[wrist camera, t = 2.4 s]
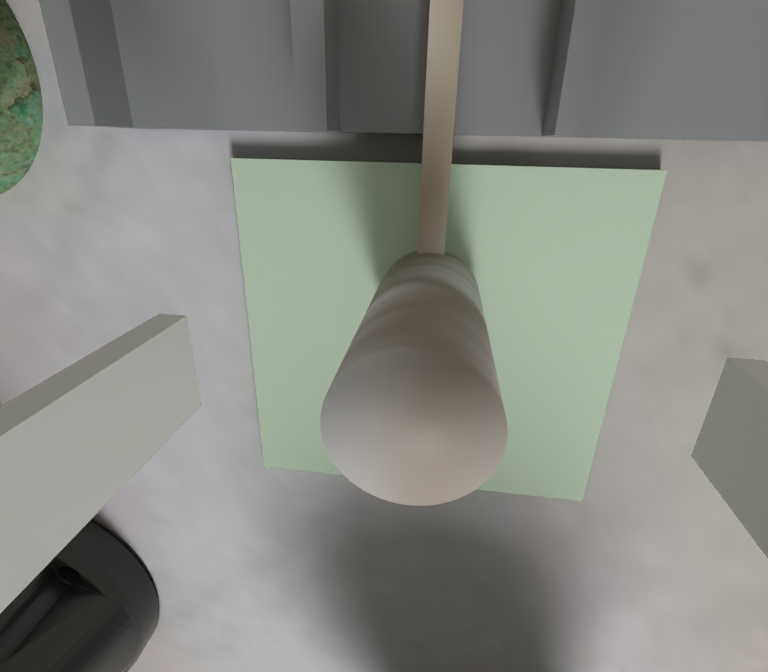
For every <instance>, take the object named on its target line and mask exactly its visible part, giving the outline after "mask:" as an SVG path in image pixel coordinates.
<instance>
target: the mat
mask: <svg viewBox="0 0 768 672" xmlns="http://www.w3.org/2000/svg"><path fill="white" fill-rule="evenodd" d="M231 167H232V177H233V186H234V195H235V205H236V214H237V223H238V232H239V242H240V251H241V260H242V270H243V279H244V288H245V297H246V307H247V316H248V325H249V335H250V344H251V353H252V363H253V372H254V381H255V390H256V400H257V409H258V418H259V428H260V437H261V446H262V456H263V465H264V467H269V468H278V469H287V470H297V471H306V472H315V473H324V474H334V475H343V474H342V473H341V472H340V471H339V469H338V468H337V467H336V466H335V464H334V463H333V461H332V460H331V458H330V456H329V455H328V453H327V450H326V448H325V446H324V443H323V439H322V435H321V428H320V414H321V409H322V404H323V402H324V399H325V396H326V394H327V392H328V390H329V387H330V385H331V383H332V381H333V379H334V377H335V375H336V373H337V371H338V369H339V367H340V365H341V363H342V361H343V359H344V357H345V354H346V352H347V350H348V348H349V346H350V344H351V342H352V340H353V338H354V336H355V334H356V332H357V330H358V328H359V326H360V323H361V321H362V319H363V317H364V315H365V313H366V311H367V309H368V307H369V305H370V303H371V301H372V299H373V297H374V295H375V293H376V290H377V288H378V286H379V284H380V282H381V280H382V278H383V276H384V274H385V273H386V271H387V270H388V268H389V267H390V266H391V265H392V264H393V263H394V262H395V261H397V260H398V259H399V258H401V257H402V256H404V255H406V254H409V253H411V252H414V251H417V246H418V226H419V207H420V187H421V168H422V163H405V162H369V161H333V160H297V159H261V158H231ZM666 174H667V170H656V169H620V168H584V167H548V166H512V165H477V164H451V174H450V188H449V201H448V214H447V227H446V240H445V252H446V253H449V254H451V255H453V256H455V257H457V258H458V259H460V260H461V261H462V262H463V263H464V264H465V265H466V266H467V267H468V268H469V269H470V270H471V272H472V273H473V275H474V277H475V279H476V282H477V284H478V288H479V293H480V298H481V302H482V307H483V312H484V316H485V321H486V326H487V330H488V335H489V340H490V344H491V349H492V354H493V358H494V363H495V368H496V372H497V377H498V382H499V386H500V391H501V396H502V400H503V405H504V410H505V414H506V419H507V428H508V437H507V445H506V449H505V453H504V455H503V458H502V460H501V462H500V464H499V466H498V467H497V469H496V470H495V472H494V473H493V474H492V475H491V477H490V478H489V479H488V480H487V481H486V482H485V483H483V484H482V485H481V486H480V487H479V488H477V489H476V490H483V491H492V492H501V493H511V494H520V495H529V496H539V497H548V498H557V499H566V500H576V501H583V497H584V493H585V489H586V485H587V481H588V477H589V473H590V470H591V466H592V462H593V458H594V454H595V450H596V446H597V442H598V438H599V435H600V431H601V427H602V423H603V419H604V415H605V411H606V407H607V403H608V399H609V396H610V392H611V388H612V384H613V380H614V376H615V372H616V368H617V364H618V361H619V357H620V353H621V349H622V345H623V341H624V337H625V333H626V329H627V326H628V322H629V318H630V314H631V310H632V306H633V302H634V298H635V294H636V290H637V287H638V283H639V279H640V275H641V271H642V267H643V263H644V259H645V255H646V252H647V248H648V244H649V240H650V236H651V232H652V228H653V224H654V220H655V217H656V213H657V209H658V205H659V201H660V197H661V193H662V189H663V185H664V182H665V178H666ZM343 476H344V475H343Z"/></svg>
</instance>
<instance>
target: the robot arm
mask: <svg viewBox="0 0 768 672" xmlns="http://www.w3.org/2000/svg"><path fill="white" fill-rule="evenodd" d="M200 406H201V400H200V394H199V388H198V382H197V376H196V370H195V364H194V359H193V353H192V347H191V341H190V335H189V329H188V323H187V317H186V316H181V315H168V314H158V315H156V316H155V317H153V318H151V319H150V320H148V321H146V322H144V323H143V324H141V325H139V326H138V327H136V328H134V329H132V330H131V331H129V332H127V333H126V334H124V335H122V336H120V337H119V338H117V339H115V340H114V341H112V342H110V343H108V344H107V345H105V346H103V347H101V348H100V349H98V350H96V351H95V352H93V353H91V354H89V355H88V356H86V357H84V358H83V359H81V360H79V361H77V362H76V363H74V364H72V365H71V366H69V367H67V368H65V369H64V370H62V371H60V372H59V373H57V374H55V375H53V376H52V377H50V378H48V379H47V380H45V381H43V382H41V383H40V384H38V385H36V386H35V387H33V388H31V389H29V390H28V391H26V392H24V393H22V394H21V395H19V396H17V397H16V398H14V399H12V400H10V401H9V402H7V403H5V404H4V405H2V406H0V672H128V671H129V669H130V668H131V667H132V666H133V665H134V663H135V662H136V660H137V659H138V657H139V656H140V654H141V652H142V651H143V649H144V647H145V646H146V644H147V642H148V641H149V639H150V637H151V636H152V634H153V633H154V631H155V629H156V626H157V624H158V620H159V602H158V597H157V594H156V591H155V588H154V586H153V584H152V582H151V580H150V578H149V576H148V575H147V573H146V571H145V570H144V568H143V567H142V566H141V564H140V563H139V562H138V561H137V559H136V558H135V557H134V556H133V555H132V554H131V553H130V552H129V551H128V550H127V549H126V548H125V547H124V546H123V545H122V544H121V543H120V542H119V541H118V540H117V539H115V538H114V537H113V536H112V535H110V534H109V533H108V532H106V531H105V530H104V529H102V528H101V527H99V526H98V525H96V524H95V523H93V522H91V521H90V520H91V519H92V518H93V517H94V516H95V515H96V514H97V513H98V512H99V511H100V510H101V509H102V508H103V507H104V506H105V505H106V504H107V502H108V501H109V500H110V499H111V498H112V497H113V496H114V495H115V494H116V493H117V492H118V491H119V490H120V489H121V488H122V487H123V486H124V485H125V484H126V483H127V482H128V481H129V480H130V479H131V478H132V477H133V476H134V474H135V473H136V472H137V471H138V470H139V469H140V468H141V467H142V466H143V465H144V464H145V463H146V462H147V461H148V460H149V459H150V458H151V457H152V456H153V455H154V454H155V453H156V452H157V451H158V450H159V449H160V448H161V447H162V445H163V444H164V443H165V442H166V441H167V440H168V439H169V438H170V437H171V436H172V435H173V434H174V433H175V432H176V431H177V430H178V429H179V428H180V427H181V426H182V425H183V424H184V423H185V422H186V421H187V420H188V419H189V417H190V416H191V415H192V414H193V413H194V412H195V411H196V410H197V409H198V408H199V407H200ZM691 456H692V457H693V459H694V460H695V461H696V463H697V464H698V465H699V467H700V468H701V470H702V471H703V472H704V474H705V475H706V476H707V478H708V479H709V480H710V482H711V483H712V484H713V486H714V487H715V488H716V490H717V491H718V492H719V494H720V495H721V496H722V498H723V499H724V500H725V502H726V503H727V504H728V506H729V507H730V508H731V510H732V511H733V512H734V514H735V515H736V516H737V518H738V519H739V520H740V522H741V523H742V524H743V526H744V527H745V528H746V530H747V531H748V532H749V534H750V535H751V537H752V538H753V539H754V541H755V542H756V543H757V545H758V546H759V547H760V549H761V550H762V551H763V553H764V554H765V555H766V557H767V558H768V362H766V361H765V360H753V359H740V358H727V361H726V363H725V366H724V369H723V371H722V374H721V377H720V380H719V382H718V385H717V388H716V390H715V393H714V396H713V398H712V401H711V404H710V407H709V409H708V412H707V415H706V417H705V420H704V423H703V426H702V428H701V431H700V434H699V436H698V439H697V442H696V445H695V447H694V450H693V453H692V455H691Z"/></svg>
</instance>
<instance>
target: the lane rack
mask: <svg viewBox="0 0 768 672" xmlns="http://www.w3.org/2000/svg"><path fill="white" fill-rule="evenodd" d="M39 2H40V6H41V11H42V15H43V19H44V23H45V28H46V32H47V36H48V40H49V45H50V49H51V53H52V57H53V62H54V66H55V70H56V74H57V79H58V83H59V87H60V91H61V96H62V100H63V104H64V108H65V113H66V117H67V121H68V125H75V126H96V127H116V128H151V129H199V130H247V131H295V132H344V133H392V134H423V128H424V109H425V89H426V70H427V50H428V31H429V11H430V0H39ZM454 135H488V136H536V137H585V138H633V139H681V140H729V141H768V0H464V3H463V16H462V29H461V42H460V55H459V69H458V82H457V95H456V108H455V121H454Z"/></svg>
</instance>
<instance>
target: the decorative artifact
mask: <svg viewBox="0 0 768 672" xmlns="http://www.w3.org/2000/svg"><path fill="white" fill-rule="evenodd" d="M42 122H43V106H42V96H41V89H40V83H39V78H38V74H37V70H36V66H35V63H34V60H33V57H32V54H31V51H30V48H29V46H28V43H27V41H26V38H25V36H24V34H23V32H22V29H21V27H20V25H19V23H18V21H17V19H16V18H15V16H14V14H13V12H12V11H11V9H10V7H9V6H8V4H7V3H6V1H5V0H0V194H2V193H4V192H6V191H7V190H9V189H10V188H12V187H13V186H15V185H16V184H17V183H18V182H19V181H20V180H21V179H22V178H23V177H24V175H25V174H26V173H27V171H28V170H29V168H30V166H31V165H32V163H33V161H34V158H35V156H36V153H37V150H38V147H39V143H40V138H41V133H42Z"/></svg>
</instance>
